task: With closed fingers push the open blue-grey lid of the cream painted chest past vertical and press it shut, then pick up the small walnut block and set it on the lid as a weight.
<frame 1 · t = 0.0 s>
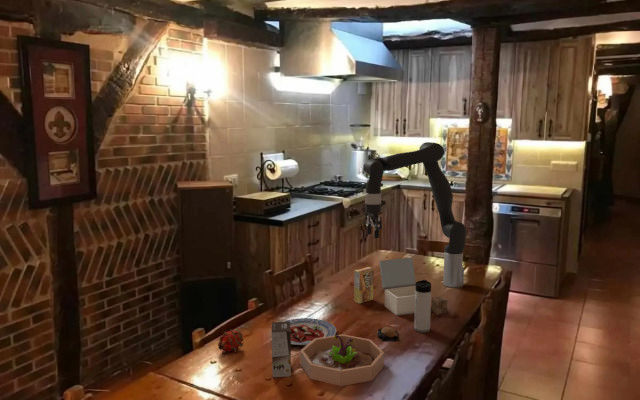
hand: (372, 236, 253), 29 cm above the table, tool pointing down, fingers open, 8 cm apart
travel mug: (422, 329, 217), on the table
plant: (342, 366, 187), on the table
ceramic plate: (304, 336, 212), on the table
dragon fruit: (230, 351, 198), on the table
coffee box: (281, 371, 183), on the table
chest: (406, 308, 240), on the table
walnut block: (439, 311, 236), on the table
lid: (397, 273, 246), point 14 cm above the table, hinge at 110.0°
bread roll: (387, 337, 211), on the table
candy box: (363, 301, 250), on the table
terracotta saucer rim: (342, 364, 187), on the table
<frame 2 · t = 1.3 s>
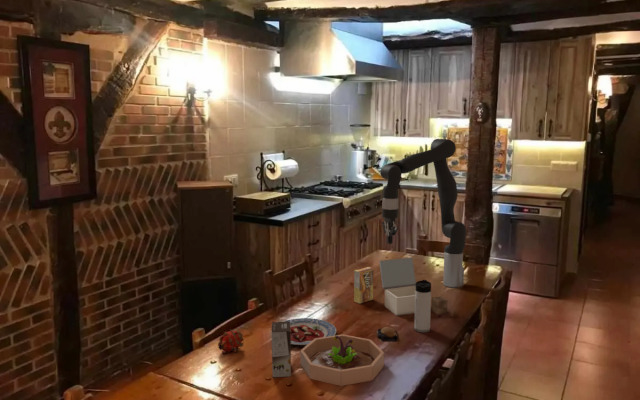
hand: (389, 243, 253), 26 cm above the table, tool pointing down, fingers closed
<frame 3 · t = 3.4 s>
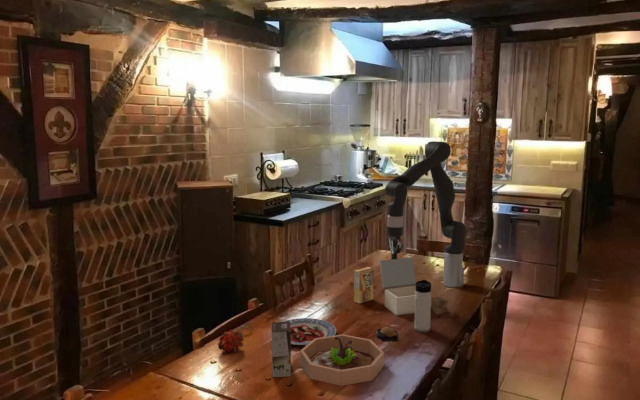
hand: (394, 260, 249), 19 cm above the table, tool pointing down, fingers closed
lid: (398, 273, 246), point 14 cm above the table, hinge at 108.2°, touching gripper
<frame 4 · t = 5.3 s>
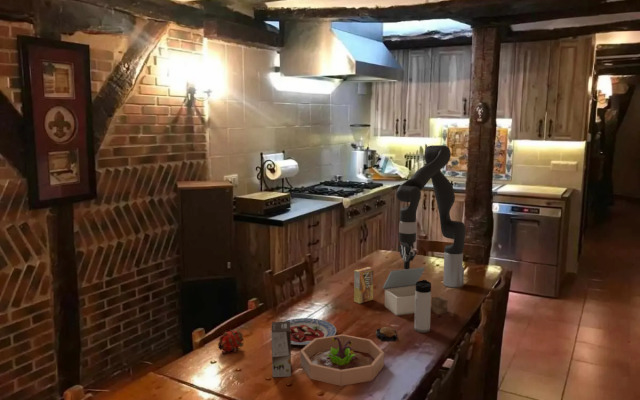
hand: (406, 268, 237), 18 cm above the table, tool pointing down, fingers closed
lid: (403, 278, 241), point 13 cm above the table, hinge at 51.8°, touching gripper
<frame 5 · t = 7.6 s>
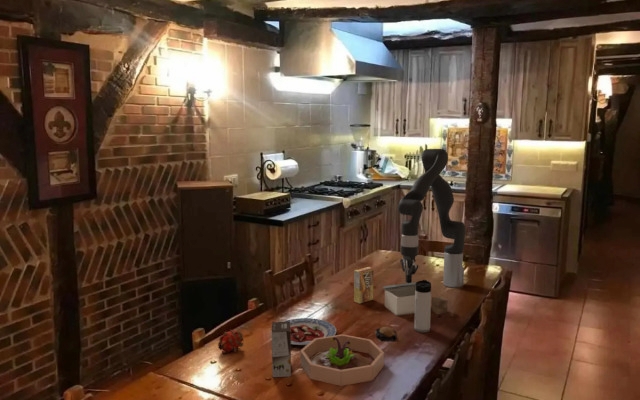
hand: (408, 282, 236), 13 cm above the table, tool pointing down, fingers closed
lid: (405, 285, 239), point 11 cm above the table, hinge at 21.4°, touching gripper
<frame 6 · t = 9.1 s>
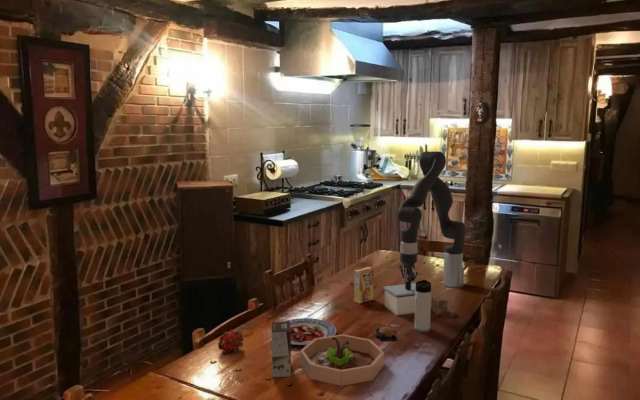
hand: (407, 289, 237), 10 cm above the table, tool pointing down, fingers closed
lid: (406, 289, 239), point 9 cm above the table, hinge at 1.8°
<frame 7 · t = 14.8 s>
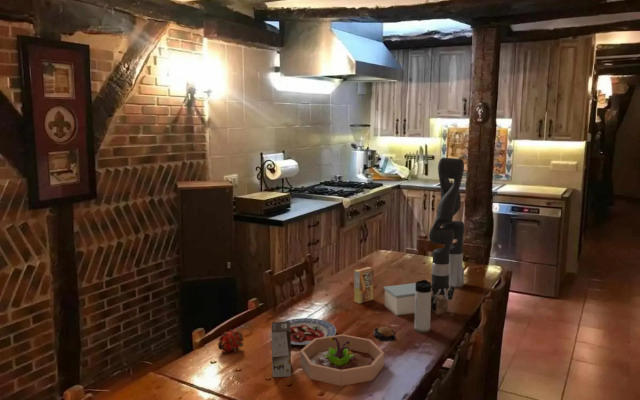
hand: (439, 309, 236), 1 cm above the table, tool pointing down, fingers closed on walnut block, 5 cm apart
walnut block: (439, 311, 236), on the table, touching gripper
lid: (406, 290, 239), point 8 cm above the table, hinge at 0.0°
when the fingers open (11 cm above the table, at t = 19.5 s): walnut block drops 1 cm, resting on lid.
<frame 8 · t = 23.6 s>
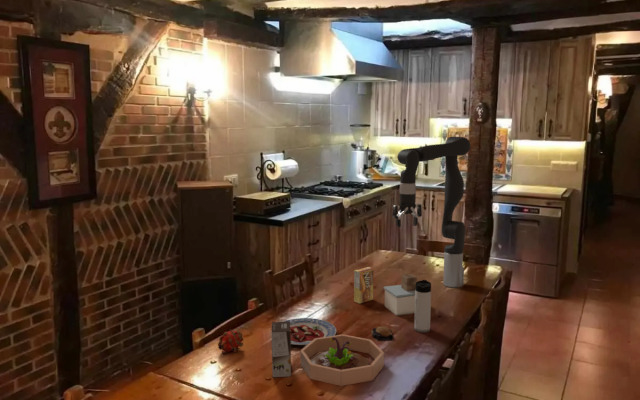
hand: (406, 226, 252), 34 cm above the table, tool pointing down, fingers open, 8 cm apart
walnut block: (408, 289, 239), point 9 cm above the table, touching lid
lid: (406, 290, 239), point 8 cm above the table, hinge at -0.1°, touching walnut block
at the end: lid at +0° (first picture: +110°); walnut block point 9.1 cm above the table; walnut block 1.1 cm from the chest (horizontally) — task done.
